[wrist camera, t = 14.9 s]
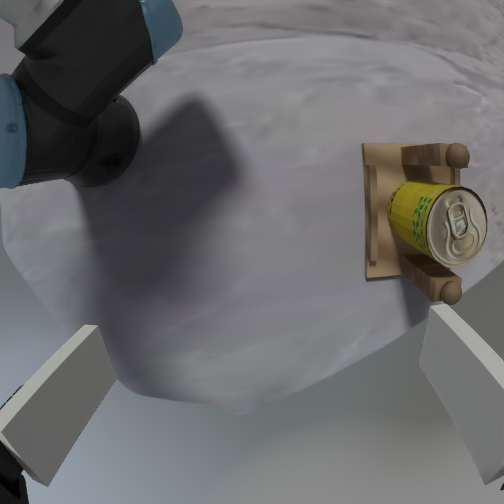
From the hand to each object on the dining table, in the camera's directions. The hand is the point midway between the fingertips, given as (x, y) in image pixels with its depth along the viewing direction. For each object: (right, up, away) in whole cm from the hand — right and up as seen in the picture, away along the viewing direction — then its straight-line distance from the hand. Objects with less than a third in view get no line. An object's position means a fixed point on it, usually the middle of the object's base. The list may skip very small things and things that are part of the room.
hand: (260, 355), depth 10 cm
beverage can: (+23, +10, +28) cm, 37 cm away
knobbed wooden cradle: (+23, +10, +28) cm, 38 cm away
